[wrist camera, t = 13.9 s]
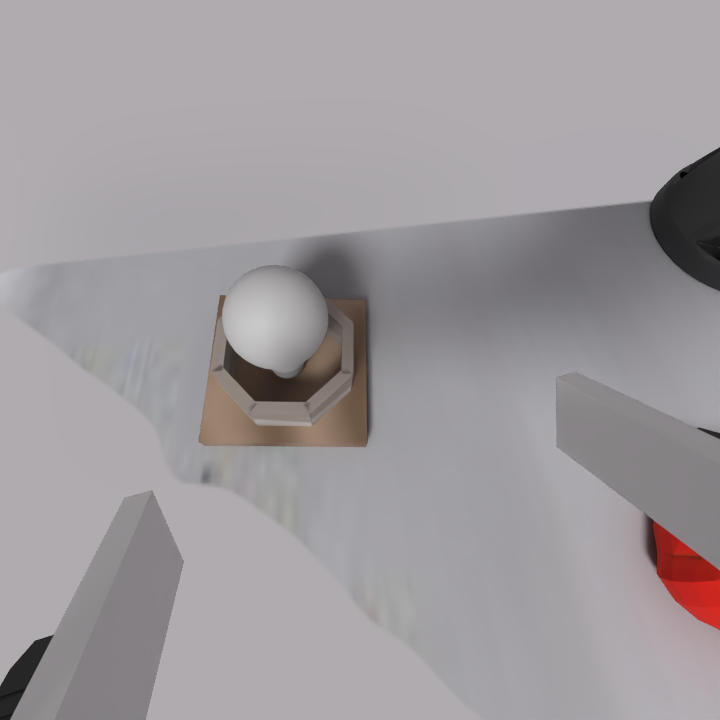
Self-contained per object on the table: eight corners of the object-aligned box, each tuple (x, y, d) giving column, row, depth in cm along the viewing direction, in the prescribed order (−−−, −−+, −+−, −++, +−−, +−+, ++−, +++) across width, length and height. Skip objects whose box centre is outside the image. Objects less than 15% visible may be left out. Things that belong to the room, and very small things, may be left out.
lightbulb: (253, 330, 32) (217, 239, 22) (329, 332, 33) (330, 245, 22) (244, 404, 30) (200, 341, 20) (327, 406, 30) (325, 345, 20)
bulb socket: (364, 308, 35) (369, 276, 31) (365, 446, 31) (371, 432, 26) (224, 304, 35) (208, 270, 30) (204, 445, 30) (181, 431, 25)
